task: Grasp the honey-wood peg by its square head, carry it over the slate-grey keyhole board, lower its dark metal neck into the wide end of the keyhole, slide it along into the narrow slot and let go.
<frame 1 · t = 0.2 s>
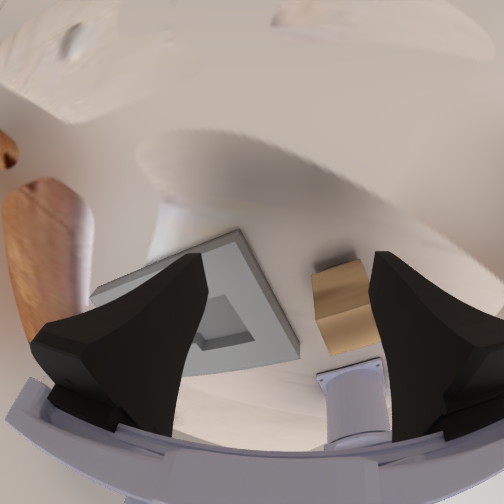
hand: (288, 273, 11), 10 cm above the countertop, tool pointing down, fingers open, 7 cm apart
keyhole peg: (339, 275, 22), on the countertop
keyhole board: (191, 318, 27), on the countertop
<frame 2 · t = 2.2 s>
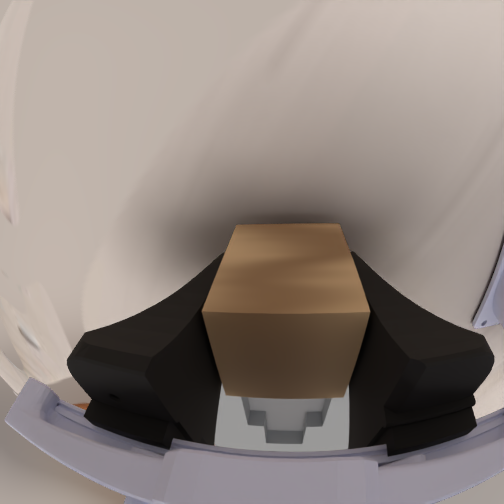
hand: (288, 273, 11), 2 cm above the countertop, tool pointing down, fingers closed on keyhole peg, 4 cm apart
keyhole peg: (288, 250, 13), on the countertop, touching gripper
keyhole board: (286, 406, 20), on the countertop
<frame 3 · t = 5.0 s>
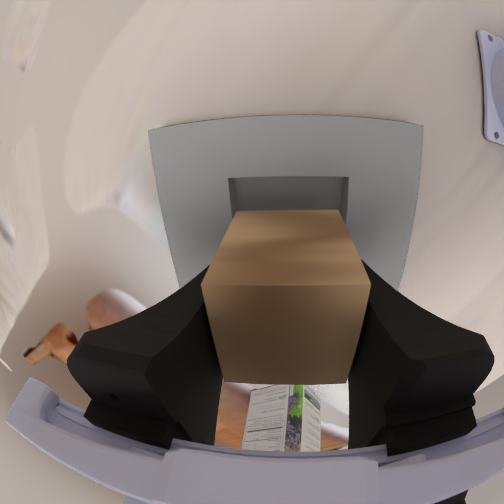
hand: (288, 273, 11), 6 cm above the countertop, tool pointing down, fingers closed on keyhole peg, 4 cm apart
keyhole peg: (288, 239, 13), point 4 cm above the countertop, touching gripper
keyhole board: (289, 260, 18), on the countertop
syrup box: (286, 394, 26), on the countertop
when the fingers open (3 cm above the countertop, at t = 7.7 s): keyhole peg stays where it is, resting on keyhole board.
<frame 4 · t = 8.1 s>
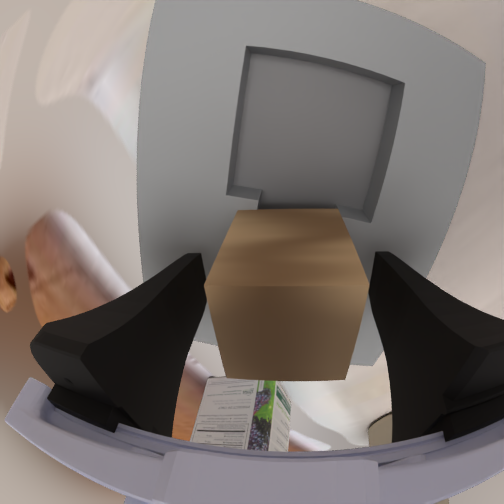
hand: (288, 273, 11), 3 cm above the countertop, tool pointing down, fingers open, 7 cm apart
keyhole peg: (288, 237, 13), resting on keyhole board
travel mug: (400, 419, 23), on the countertop
keyhole board: (299, 193, 12), on the countertop
syrup box: (250, 389, 21), on the countertop
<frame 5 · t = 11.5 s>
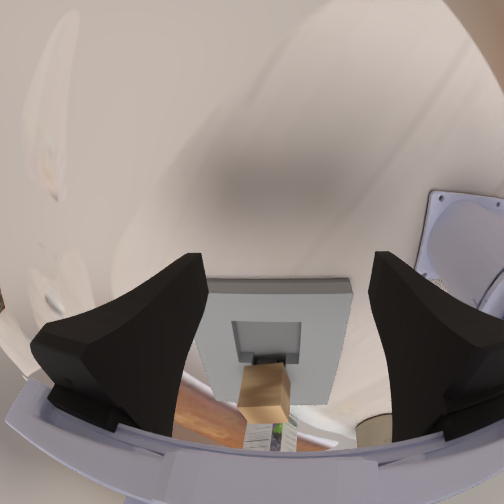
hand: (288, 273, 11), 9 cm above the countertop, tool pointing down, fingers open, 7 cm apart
keyhole peg: (269, 364, 28), resting on keyhole board
travel mug: (378, 422, 36), on the countertop
keyhole board: (270, 348, 27), on the countertop
syrup box: (273, 415, 36), on the countertop
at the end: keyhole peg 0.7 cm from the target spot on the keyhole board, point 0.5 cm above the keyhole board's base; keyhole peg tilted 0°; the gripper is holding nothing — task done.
